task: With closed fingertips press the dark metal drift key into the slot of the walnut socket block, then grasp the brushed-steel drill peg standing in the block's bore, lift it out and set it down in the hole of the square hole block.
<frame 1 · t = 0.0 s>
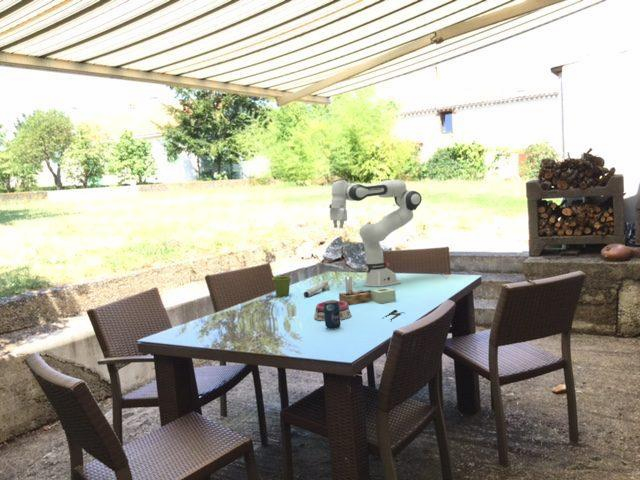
hand: (338, 228, 328), 39 cm above the table, tool pointing down, fingers open, 8 cm apart
square hole block: (383, 300, 288), on the table
socket block: (355, 301, 293), on the table
white elongated piece: (317, 294, 326), on the table
plant pot: (283, 296, 327), on the table
drill peg: (350, 302, 292), resting in socket block
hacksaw: (393, 319, 250), on the table
dog bowl: (332, 317, 261), on the table
drift key: (373, 294, 296), point 3 cm above the table, slide at 0.0 cm
soda can: (333, 327, 241), on the table
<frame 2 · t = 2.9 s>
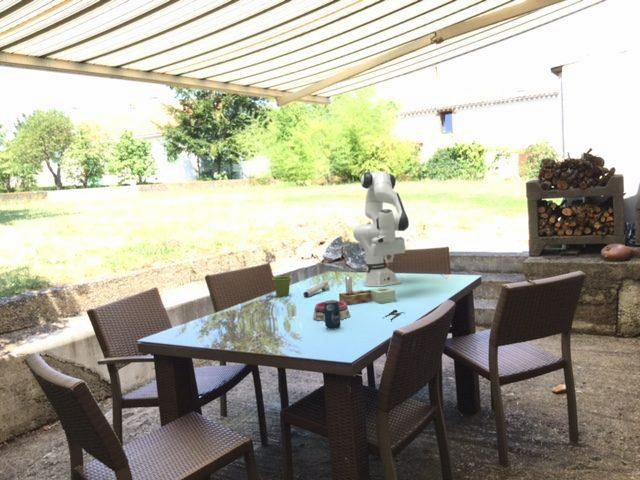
hand: (389, 262, 298), 19 cm above the table, tool pointing down, fingers closed
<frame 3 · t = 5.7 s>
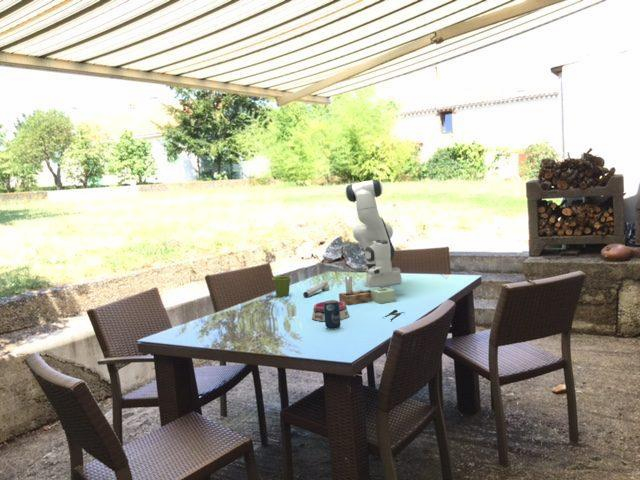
hand: (385, 293, 298), 2 cm above the table, tool pointing down, fingers closed
drift key: (372, 294, 296), point 3 cm above the table, slide at 0.9 cm, touching gripper
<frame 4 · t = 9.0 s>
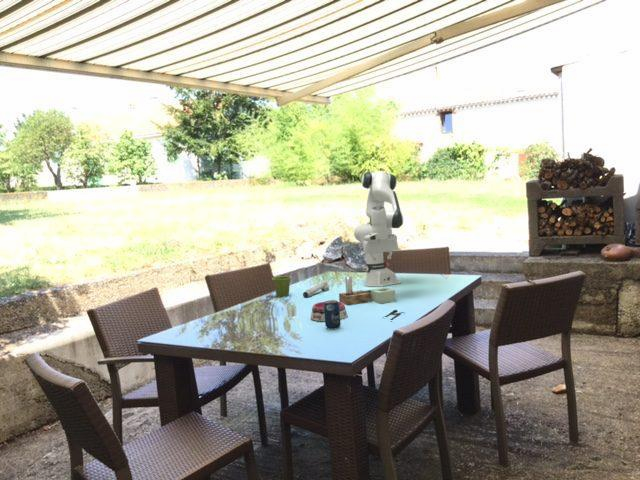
hand: (381, 260, 297), 21 cm above the table, tool pointing down, fingers open, 8 cm apart
drift key: (367, 295, 295), point 3 cm above the table, slide at 3.7 cm
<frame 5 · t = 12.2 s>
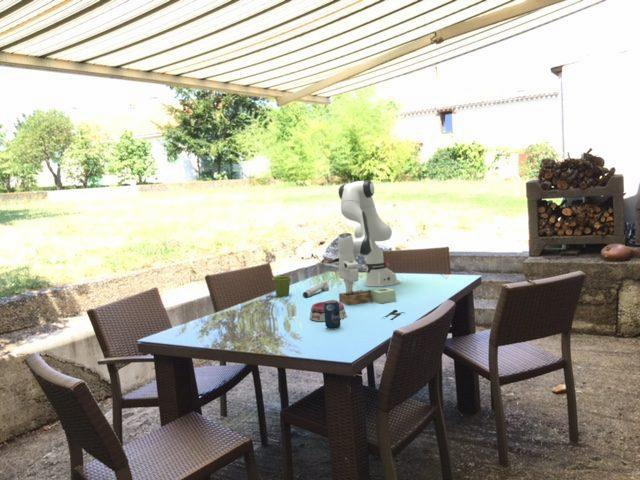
hand: (349, 287, 291), 8 cm above the table, tool pointing down, fingers closed on drill peg, 4 cm apart
drill peg: (350, 302, 292), resting in socket block, touching gripper
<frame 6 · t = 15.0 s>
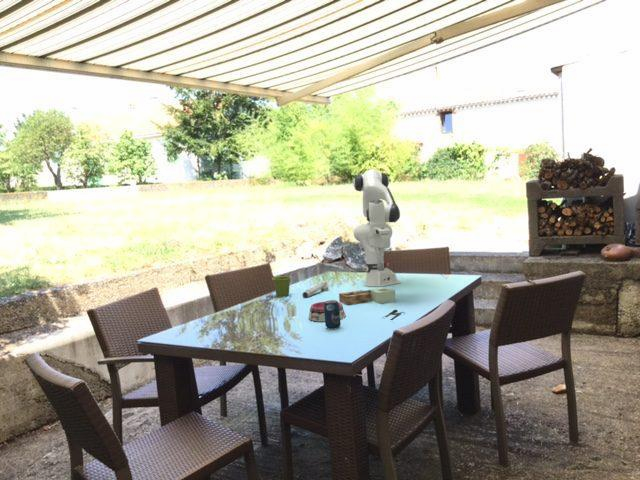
hand: (379, 255, 286), 25 cm above the table, tool pointing down, fingers closed on drill peg, 4 cm apart
drill peg: (380, 270, 287), point 17 cm above the table, touching gripper
when the fingers open (10 cm above the table, at t = 18.2 s): drill peg drops 2 cm, resting in square hole block.
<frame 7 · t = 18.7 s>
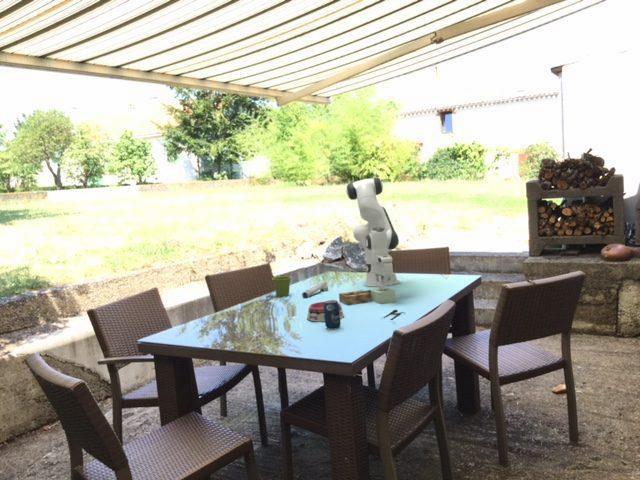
hand: (382, 282, 288), 10 cm above the table, tool pointing down, fingers open, 8 cm apart
drill peg: (383, 300, 288), resting in square hole block
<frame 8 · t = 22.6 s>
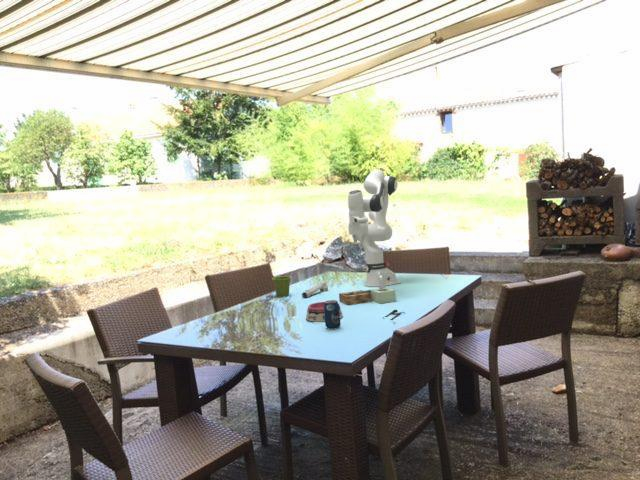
hand: (358, 243, 302), 31 cm above the table, tool pointing down, fingers open, 8 cm apart
at the end: drill peg 0.1 cm off-centre on the square hole block, point 0.0 cm above the square hole block's base; drill peg tilted 0°; drift key slide at 3.7 cm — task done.
